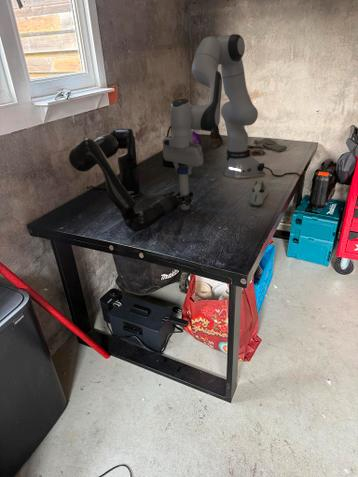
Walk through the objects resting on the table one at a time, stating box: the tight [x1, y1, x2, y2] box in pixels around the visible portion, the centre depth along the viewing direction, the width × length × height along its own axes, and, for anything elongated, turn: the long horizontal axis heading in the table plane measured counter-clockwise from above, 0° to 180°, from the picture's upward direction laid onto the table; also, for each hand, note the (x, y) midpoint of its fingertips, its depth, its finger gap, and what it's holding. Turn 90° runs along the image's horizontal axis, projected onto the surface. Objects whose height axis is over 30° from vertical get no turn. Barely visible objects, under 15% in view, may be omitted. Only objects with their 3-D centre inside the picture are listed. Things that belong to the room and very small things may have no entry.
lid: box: [177, 165, 189, 175], centre depth 145 cm, size 5×5×2 cm
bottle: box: [178, 174, 191, 211], centre depth 149 cm, size 4×4×19 cm
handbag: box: [162, 124, 181, 168], centre depth 210 cm, size 21×9×25 cm, turn 148°
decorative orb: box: [192, 130, 202, 147], centre depth 230 cm, size 15×15×15 cm
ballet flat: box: [249, 179, 269, 207], centre depth 158 cm, size 8×24×8 cm, turn 163°
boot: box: [209, 126, 224, 149], centre depth 245 cm, size 9×24×20 cm, turn 168°
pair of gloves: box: [247, 138, 288, 155], centre depth 230 cm, size 30×26×5 cm
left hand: (188, 192), depth 152 cm, fingers closed on bottle, 4 cm apart
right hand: (183, 172), depth 145 cm, fingers closed on lid, 5 cm apart
